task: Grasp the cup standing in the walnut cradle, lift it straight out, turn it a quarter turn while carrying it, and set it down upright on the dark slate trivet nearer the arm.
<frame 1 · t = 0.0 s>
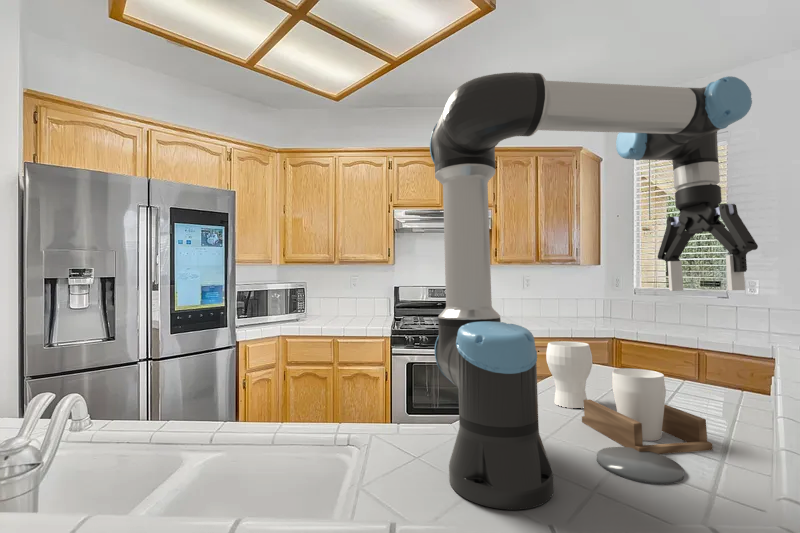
hand: (704, 290, 78), 28 cm above the counter, fingers open, 13 cm apart
cup: (640, 435, 75), resting in cradle
trivet: (638, 465, 62), on the counter
cradle: (640, 434, 75), on the counter
cup 2: (571, 405, 96), on the counter
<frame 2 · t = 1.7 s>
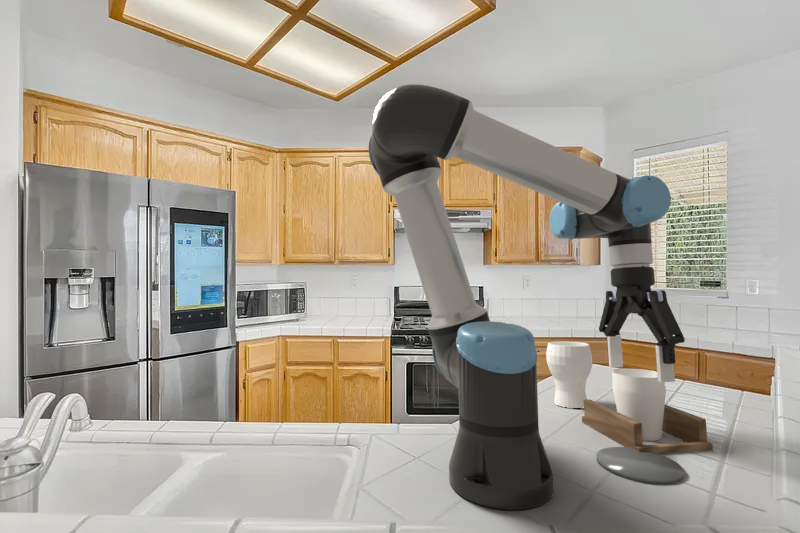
hand: (639, 373, 76), 12 cm above the counter, fingers open, 13 cm apart
nothing on the counter moved.
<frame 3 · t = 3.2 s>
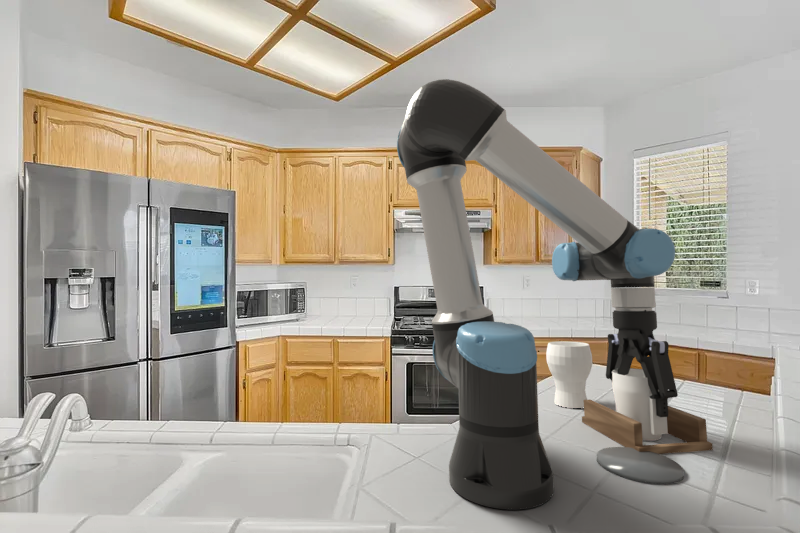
hand: (640, 424, 75), 2 cm above the counter, fingers closed on cup, 9 cm apart
cup: (640, 435, 75), resting in cradle, touching gripper
everything else where it was.
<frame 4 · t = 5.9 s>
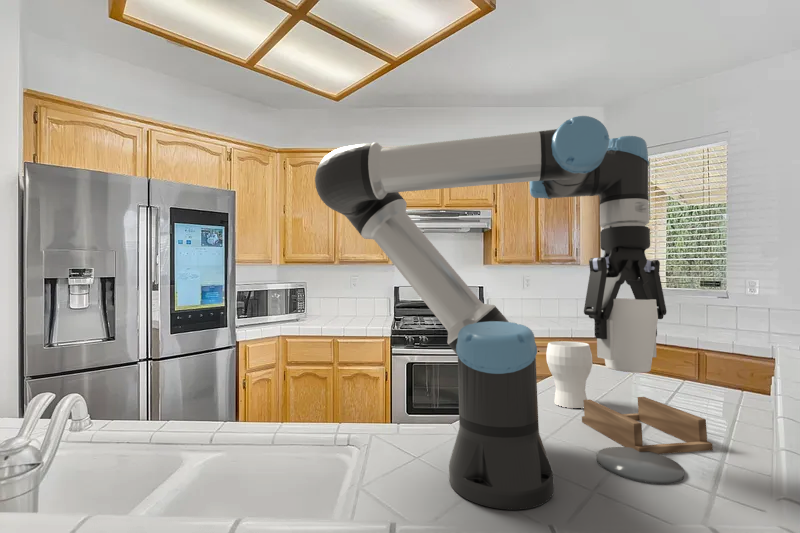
hand: (627, 357, 66), 17 cm above the counter, fingers closed on cup, 9 cm apart
cup: (627, 370, 66), point 15 cm above the counter, touching gripper
everything else where it was.
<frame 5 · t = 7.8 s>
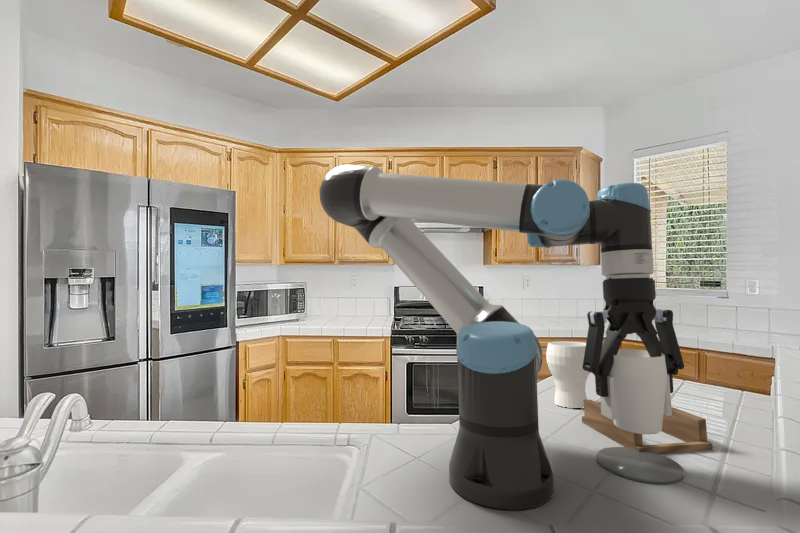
hand: (636, 414, 63), 8 cm above the counter, fingers closed on cup, 9 cm apart
cup: (637, 428, 62), point 6 cm above the counter, touching gripper
everything else where it was.
when the fingers open (4 cm above the counter, at t = 9.1 s): cup drops 1 cm, resting on trivet.
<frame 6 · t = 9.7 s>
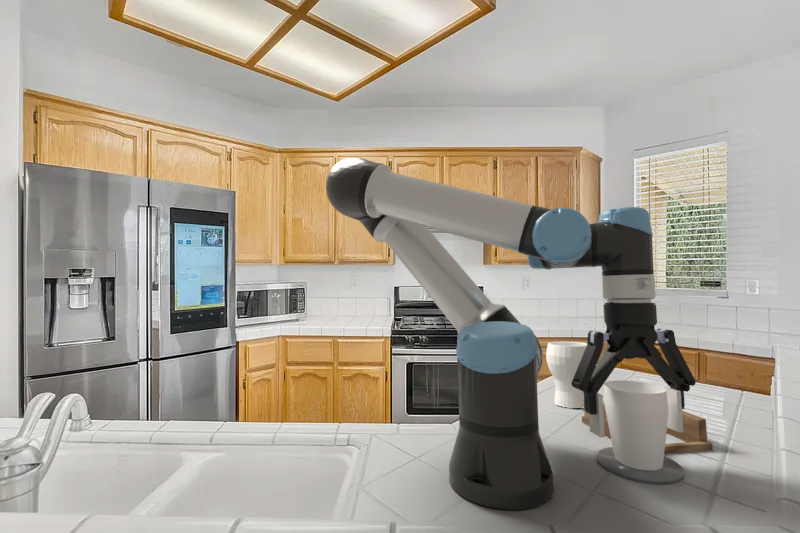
hand: (636, 432, 62), 5 cm above the counter, fingers open, 13 cm apart
cup: (638, 463, 62), resting on trivet
everything else where it was.
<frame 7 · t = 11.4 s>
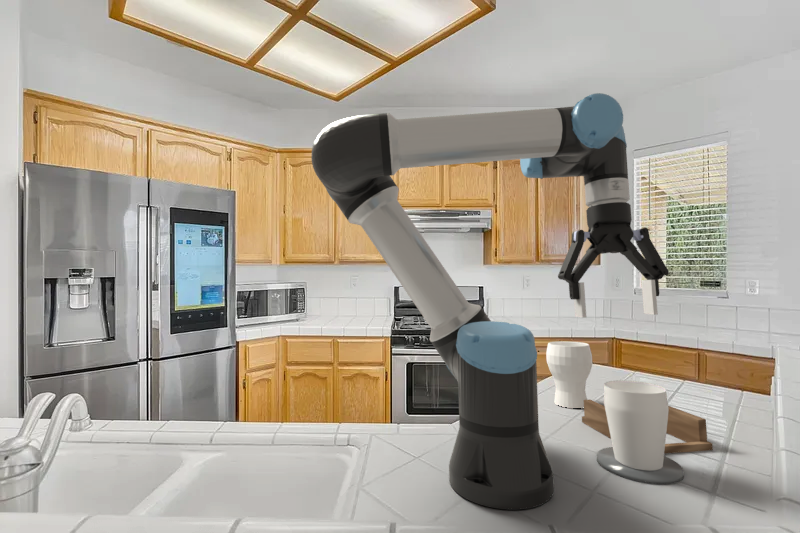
hand: (615, 315, 72), 24 cm above the counter, fingers open, 13 cm apart
nothing on the counter moved.
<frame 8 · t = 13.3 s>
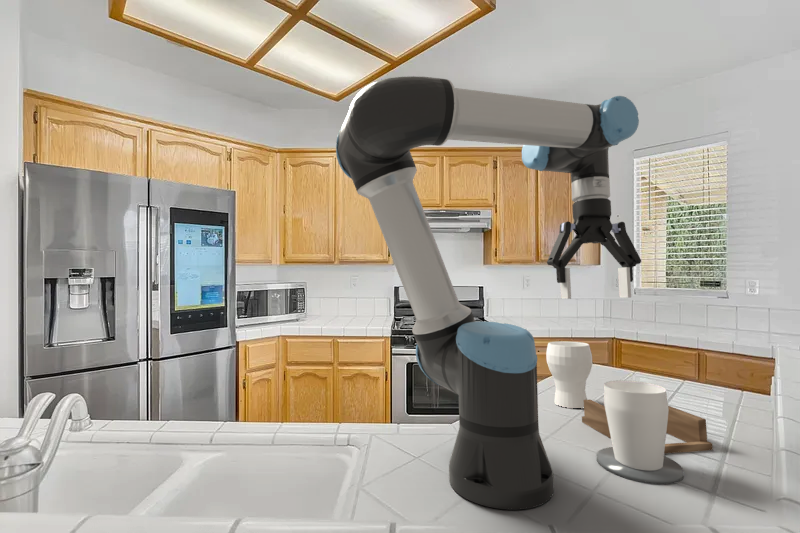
hand: (595, 298, 82), 27 cm above the counter, fingers open, 13 cm apart
nothing on the counter moved.
at the end: cup 0.0 cm from the trivet (horizontally); cup tilted 0°; cup touching trivet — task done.
